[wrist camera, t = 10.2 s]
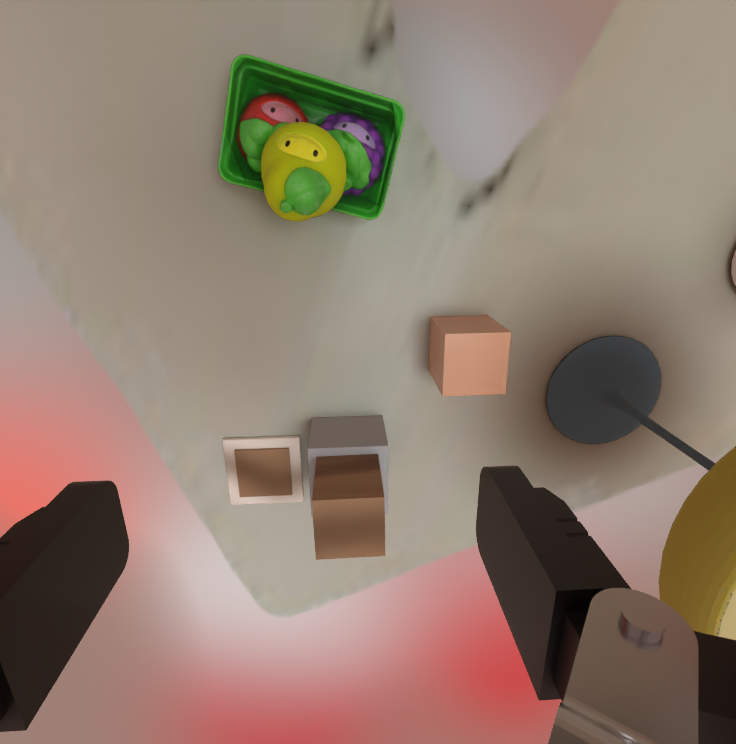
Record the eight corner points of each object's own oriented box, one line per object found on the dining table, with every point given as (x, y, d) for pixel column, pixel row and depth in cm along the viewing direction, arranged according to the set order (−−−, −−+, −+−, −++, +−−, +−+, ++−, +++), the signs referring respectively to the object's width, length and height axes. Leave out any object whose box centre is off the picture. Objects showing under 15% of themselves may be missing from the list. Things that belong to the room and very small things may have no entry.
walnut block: (316, 456, 37) (311, 500, 31) (378, 453, 37) (384, 497, 32) (320, 508, 39) (316, 559, 33) (379, 505, 39) (385, 555, 33)
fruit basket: (399, 117, 35) (425, 76, 24) (371, 236, 37) (382, 246, 27) (248, 73, 33) (204, 7, 23) (230, 200, 36) (183, 195, 25)
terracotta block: (430, 316, 40) (445, 334, 34) (487, 315, 40) (511, 332, 34) (428, 370, 42) (442, 396, 36) (483, 369, 42) (505, 393, 36)
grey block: (312, 417, 42) (307, 448, 37) (382, 414, 43) (388, 445, 37) (315, 478, 45) (311, 516, 39) (382, 475, 45) (387, 513, 39)
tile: (223, 438, 43) (221, 441, 42) (299, 435, 43) (298, 439, 42) (231, 502, 45) (230, 506, 44) (303, 499, 45) (303, 503, 45)
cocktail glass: (484, 460, 45) (641, 736, 21) (543, 276, 39) (848, 375, 16) (651, 486, 47) (964, 764, 23) (731, 316, 41) (1249, 455, 18)
